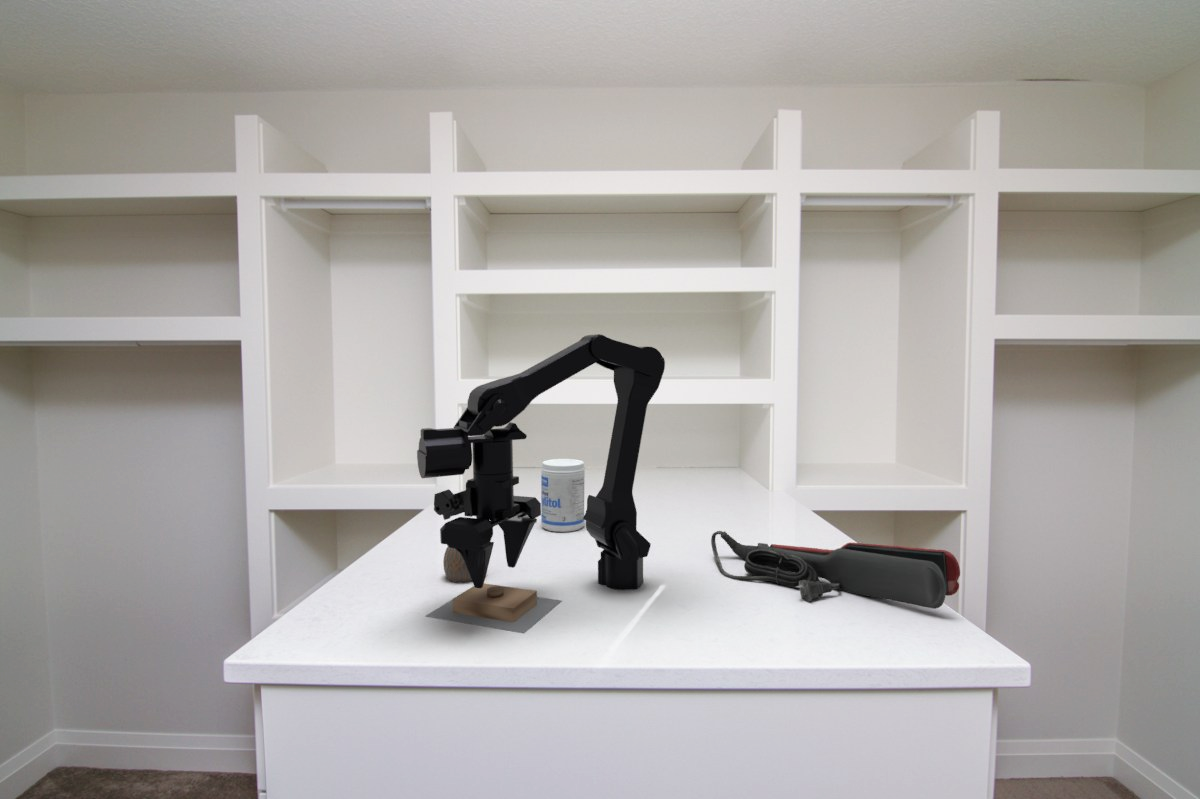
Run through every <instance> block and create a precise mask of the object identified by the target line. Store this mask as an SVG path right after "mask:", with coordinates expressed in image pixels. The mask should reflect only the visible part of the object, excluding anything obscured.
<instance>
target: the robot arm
mask: <svg viewBox="0 0 1200 799" xmlns="http://www.w3.org/2000/svg"><path fill="white" fill-rule="evenodd" d="M594 364H596V365H599V366H601V367H603V368H605V369H607V370H610V371H613V384H614V389H615V392H616V397H617V404H616V407H615V408H616V409H615V413H614V420H613V426H612V427H613V428H612V433H611V437H610V444H609V449H608V454H607V460H606V466H605V471H604V472H605V473H604V478H603V484H602V487H601V488H600V490H599V491H598V493H597V494H596V495H595V496H594V495H591V494H588V496H587V499H586V510H585V512H584V517H583V519H584V521H585V528H586V531H587V533H588V534H589V535H590V537H591V538H593V539H594V541H595V543H596V546H597V547H598V548H601V549H602V551H600V559H598V560H597V584H599V585H601V586H605V587H607V588H609V589H611V590H615V591H616V590H618V591H627V590H628V591H629V590H638V589H640V587H641V586H642V585H643V584H644V558H646V557H648V555H649V552H650V550H651V544H652V543H651V542H649V540H648V539H646V538H645V537H644V536H643V535H642V534H641V533H640V532H639V531H638V530H637V516H638V512H637V507H636V503H635V500H634V496H633V495H634V494H633V490H634V482H635V478H636V471H637V466H638V460H639V454H640V449H641V443H642V439H643V438H642V437H643V431H644V425H645V421H646V413H647V409H648V404H649V403H650V401H651V400H652V398H653V397H654V395H655V393H656V392H657V391H658V389H659V387H660V384H661V382H662V378H663V375H664V372H665V367H666V361H665V357H664V356H663V355H662V354H661V352H660V351H659V350H658V349H657V348H655V347H653V346H638V345H637V346H636V345H633V344H629V343H626V342H622V341H618V340H615V339H612V338H610V337H607V336H605V335H603V334H601V333H600V334H596V333H595V334H589V335H584V336H583V337H582V338H581V339H580V340H578V341H577V342H575V343H572V344H571V345H569V346H567V347H565V348H564V349H562V350H559V351H558V352H557V353H554V354H553V355H550V356H549V357H547V358H545V359H544V360H542V361H540V362H538V363H536V364H534V365H533V366H531V367H529V368H527V369H525V370H523V371H522V372H520V373H517V374H514V375H509V376H506V377H502V378H499V379H495V380H493V381H489V382H486V383H483V384H480V385H478V386H476V387H475V388H474V389H472V390H471V391H470V392H469V395H468V397H467V398H468V399H467V407H466V409H465V410H464V411H463V413H462V414H461V415H460V417H459V418H458V420H457V421H456V423H455V424H454V426H453V427H450V428H431V427H430V428H429V427H427V428H421V429H420V438H419V442H418V449H417V450H416V459H417V468H418V472H419V475H420V477H421V479H430V478H439V477H440V478H441V477H452V476H462V475H464V474H465V472H466V470H469V469H470V467H472V472H473V473H472V476H473V477H472V478H471V479H467V480H466V483H465V490H462V491H459V492H455V493H453V492H452V491H451V490H450V489H446V490H443V491H439V492H437V493H434V496H433V511H434V512H435V513H436V514H437V515H438V516H441V515H442V516H443V520H444V521H446V520H448V519H451V517H454V516H458V515H460V514H463V513H464V516H458V517H456V518H454V519H452V520H449V521H447V522H445V523H444V524H442V526H441V527H440V530H439V533H440V534H439V535H440V540H439V541H440V544H441V545H447V547H449V548H455V549H456V550H457V551H458V552H459V553H460V554H461V555H462V557H463V559H464V561H465V564H466V566H467V569H468V571H469V574H470V577H471V579H472V581H471V582H472V584H473V586H474V587H475V588H482V587H483V584H484V583H485V580H486V577H487V572H488V568H489V565H490V559H491V557H492V551H493V547H494V543H495V542H494V541H492V538H493V536H494V527H495V526H499V528H500V529H501V530H502V532H503V542H504V550H505V559H506V564H507V567H509V568H511V569H513V568H515V567H516V566H517V563H518V561H519V558H520V556H521V553H522V551H523V550H524V547H525V545H526V542H527V540H528V538H529V536H530V533H531V532H532V530H533V529H534V526H535V524H536V523H537V521H538V517H539V516H540V517H541V502H540V501H539V500H538V499H537V498H536V497H535V496H525V495H523V496H521V495H514V494H515V493H514V490H515V489H514V486H516V485H518V484H520V477H519V476H517V475H514V460H513V459H514V456H513V455H514V453H513V452H514V450H513V447H514V446H513V441H516V440H517V441H518V440H526V439H527V437H528V435H527V434H526V433H525V432H523V431H522V430H521V429H520V428H519V426H518V425H517V423H514V422H512V421H513V420H514V419H515V418H517V417H518V416H519V415H520V414H522V413H523V411H525V410H526V409H527V408H528V407H529V405H530V404H531V403H532V401H533V400H535V399H537V397H538V396H540V395H541V394H543V393H545V392H547V391H548V390H550V389H552V388H554V387H555V386H556V385H558V384H560V383H562V382H564V381H566V380H568V379H569V378H571V377H573V376H574V375H577V374H578V373H580V372H581V371H583V370H585V369H587V368H589V367H590V366H592V365H594ZM505 425H506V426H505ZM503 426H505V427H503ZM494 427H501V428H494ZM502 427H503V428H502ZM471 465H472V466H471ZM473 517H474V518H473ZM475 517H476V518H475Z"/></svg>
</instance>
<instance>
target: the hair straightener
mask: <svg viewBox="0 0 1200 799" xmlns="http://www.w3.org/2000/svg"><path fill="white" fill-rule="evenodd" d="M717 535H719V536H720V538H721V539H723V540H724V541H725V543H726V544H727V545H728V546H729V548H730V549H731V550H732V553H734V554H735V555H736V556H737V557H739V558H741V559H744V561H745V562H744V565H743V567H744V570H745V571H746V573H747V574H749V575H751V576H748V575H747V576H745V575H744V576H743V575H734V574H730V573H729V572H727V571H725V570H724V568H723V565H722V564H723V563H722V562H721V559H720V557H719V553H718V550H717V544H716V536H717ZM710 544H711V549H712V554H713V559H714V561H715V563H716V565H717V568H718V571H719V572H720V574H722V575H723V576H724V577H727V578H728V579H732V580H736V581H744V582H756V581H757V582H758V581H759V582H760V581H763V582H764V581H767V582H771V583H774V584H775V583H776V584H778V585H779V586H780V585H783V586H785V587H789V588H792V589H797V590H798V589H799V593H800V597H801V600H804V601H805V602H807V603H809V602H812V601H813V599H814V600H815V599H816V598H818V597H822V596H824V595H825V594H827V593H831V592H832V591H835V590H839V591H842V592H847V593H851V594H855V595H861V596H867V597H871V598H878V599H883V600H888V601H893V602H897V603H904V604H908V605H913V606H917V607H923V608H929V609H935V610H936V609H939V608H940V607H942V605H943V604H944V603H945V599H946V596H953V595H955V594H956V593H957V592H958V591H959V588H960V583H959V582H958V580H959V578H960V576H961V568H960V564H959V562H958V560H957V558H956V556H955V555H954V553H951V552H950V551H949V550H947V549H946V550H945V549H934V548H933V549H932V548H921V547H909V546H908V547H907V546H898V545H896V546H894V545H887V544H885V545H884V544H877V543H876V544H875V543H862V542H861V543H859V542H847V543H845V544H843V545H842V546H841V547H839V548H835V549H825V548H817V547H816V548H815V547H807V546H806V547H805V546H795V545H784V544H776V543H775V544H773V543H771V544H770V546H769V544H768V543H763V542H762V543H761V542H758V543H757V545H747V544H742V543H740V542H737V540H736V539H734V538H733V537H732V536H730V535H729V534H728V533H727V532H726V531H722V530H717V531H714V532H713V533H712V535H711V538H710ZM819 578H820V579H824V580H826V581H828V582H820V579H819Z"/></svg>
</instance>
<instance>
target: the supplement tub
mask: <svg viewBox="0 0 1200 799" xmlns="http://www.w3.org/2000/svg"><path fill="white" fill-rule="evenodd" d="M584 463H585V462H584V461H583V460H580V459H573V458H553V459H547V460H544V461H543V462H542V463H541V471H540V472H541V476H540V477H541V479H540V480H541V484H540V485H541V486H540V487H541V488H540V489H541V492H540V493H541V497H540V499H541V502H540V503H541V515H540V517H541V519H540V520H541V522H540V523H541V526H542V528H543V529H545V530H546V531H551V532H559V533H567V532H574V531H578V530H580V529H582V528H583V527H584V525H585V520H584V519H583V517H584V515H585V477H586V476H585V464H584Z"/></svg>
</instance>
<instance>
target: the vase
mask: <svg viewBox="0 0 1200 799" xmlns="http://www.w3.org/2000/svg"><path fill="white" fill-rule="evenodd" d="M442 564H443V570H444V573H445V576H446V578H447V580H448V581H449V582H453V583H469V582H472V579H471V577H470V574H469V571H468V569H467V566H466V564H465V561H464V559H463V557H462V555H461V554H460V553H459V552H458V551H457V550H456V549H455V548H449V547H448V546H447V547H446V548H445V552H444V555H443V563H442Z"/></svg>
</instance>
